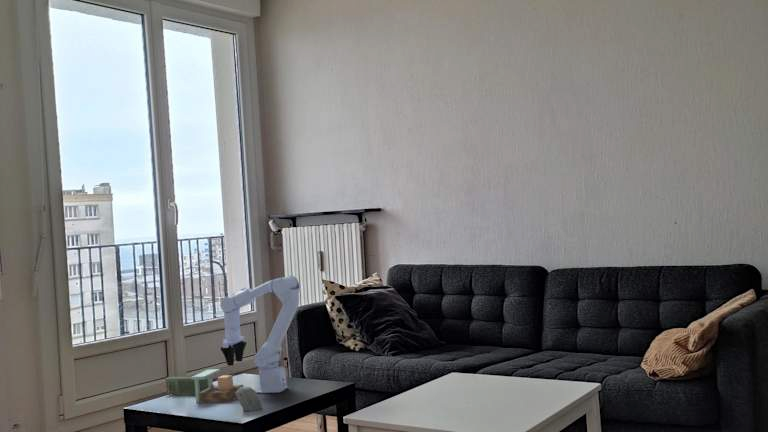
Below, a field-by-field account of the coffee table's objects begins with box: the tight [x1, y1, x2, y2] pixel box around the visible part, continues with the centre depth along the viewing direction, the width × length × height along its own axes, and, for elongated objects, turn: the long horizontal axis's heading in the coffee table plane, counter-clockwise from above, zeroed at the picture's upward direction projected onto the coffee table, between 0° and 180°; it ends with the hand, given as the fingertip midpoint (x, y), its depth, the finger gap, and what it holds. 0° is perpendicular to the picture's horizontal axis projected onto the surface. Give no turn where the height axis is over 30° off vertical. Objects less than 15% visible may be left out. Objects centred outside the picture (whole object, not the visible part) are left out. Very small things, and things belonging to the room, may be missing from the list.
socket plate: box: [198, 384, 244, 404], centre depth 292 cm, size 12×12×4 cm
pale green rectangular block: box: [190, 368, 221, 404], centre depth 293 cm, size 5×13×10 cm, turn 165°
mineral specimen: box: [235, 386, 263, 412], centre depth 270 cm, size 7×9×8 cm
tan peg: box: [217, 374, 234, 391], centre depth 291 cm, size 4×4×8 cm
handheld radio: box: [165, 376, 214, 396], centre depth 304 cm, size 7×3×25 cm
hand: (234, 363), depth 303 cm, fingers open, 7 cm apart
